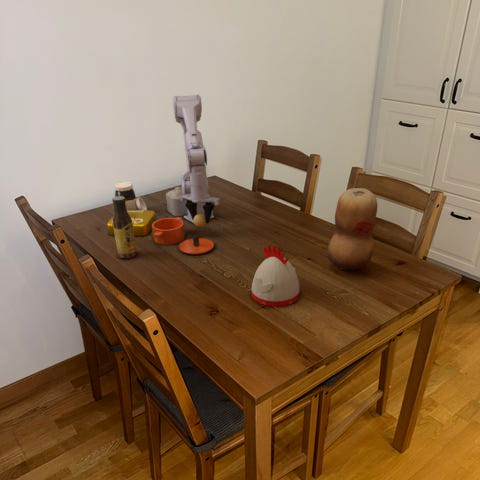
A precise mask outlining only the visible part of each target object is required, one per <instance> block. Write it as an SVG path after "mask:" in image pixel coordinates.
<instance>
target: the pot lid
mask: <svg viewBox="0 0 480 480" xmlns="http://www.w3.org/2000/svg"><path fill="white" fill-rule="evenodd" d="M214 247H215V245H214V242H213V241H212V240H210V239H208V238H203V237H200V235H198V234H193V235H192V237H191V238H189V239H184V240H183V241H181V242H180V243H179V244H178V249H179V251H180V252H181V253H184V254H188V255H202V254H206V253H209V252H211V251H212V250H213V249H214Z"/></svg>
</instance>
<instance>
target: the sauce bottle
mask: <svg viewBox="0 0 480 480" xmlns="http://www.w3.org/2000/svg"><path fill="white" fill-rule="evenodd" d="M111 200H112V204H113V208H114V214H113V216H112V217H113V228H114V234H115V236H114V238H115V245H116V252H117V254H118V257H119V258H120V259H131V258H134V257H135V256H136V255H137V245H136V244H137V243H136V239H135V237H136V236H134V231H133V223H132V220H131V218H130V216H129V214H128V212H127V209H126V204H125V202H126V200H125V197H123V196H117V197H115V196H113V197H112V198H111Z"/></svg>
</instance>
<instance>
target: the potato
mask: <svg viewBox="0 0 480 480" xmlns="http://www.w3.org/2000/svg"><path fill="white" fill-rule="evenodd" d="M193 222H194V223H193ZM193 222H192V223H193V224H194V226H196V227H197V228H202V227H204V226H205V225H207V224H206V221H205V213H204V212H200V213H198V214H197V215H196V216H195V217H194V219H193Z"/></svg>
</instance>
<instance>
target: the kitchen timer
mask: <svg viewBox="0 0 480 480" xmlns="http://www.w3.org/2000/svg"><path fill="white" fill-rule="evenodd" d="M276 247H277V246H276V245H273V246H272V247H271V244H270V243H269V244H268V245H267V246H263V248H262V250H263V253H264V255H265V259H264V260H263V261H262V262H260V264H259V265H258V267H257V269H256V271H255V274H254V277H253V279H252V283H251V290H250V291H251V298H252V299H253V300H255V301H256V302H257V303H259V304H261V305H264V306H268V307H284V306H289V305H291V304H294V303H295V302H296V301H297V300H298V299H299V298H300V282H299V279H298V275H297V272H296V267H293V265H292V264H291V263H290V261H289V259H290V257H287V258H285V254H286V252H285V251H284V252H281V247H280V246H278V247H277V248H276Z"/></svg>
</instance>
